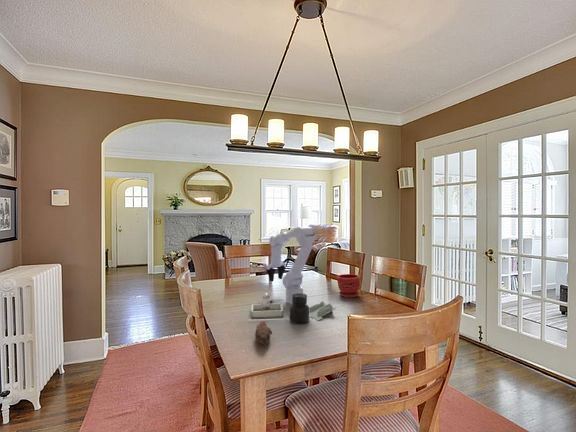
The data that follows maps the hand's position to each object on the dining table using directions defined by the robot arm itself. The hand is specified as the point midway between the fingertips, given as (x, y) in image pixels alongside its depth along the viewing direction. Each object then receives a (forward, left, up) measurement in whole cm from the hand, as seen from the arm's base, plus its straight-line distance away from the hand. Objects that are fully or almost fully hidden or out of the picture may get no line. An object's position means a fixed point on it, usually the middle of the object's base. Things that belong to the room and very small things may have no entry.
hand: (275, 279), depth 185 cm
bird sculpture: (+9, +59, -11) cm, 61 cm away
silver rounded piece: (+7, +29, -10) cm, 31 cm away
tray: (+6, +29, -10) cm, 32 cm away
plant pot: (-43, 0, -11) cm, 45 cm away
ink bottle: (-8, +40, -11) cm, 42 cm away
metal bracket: (-20, +32, -11) cm, 39 cm away
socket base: (+6, +17, -10) cm, 21 cm away
